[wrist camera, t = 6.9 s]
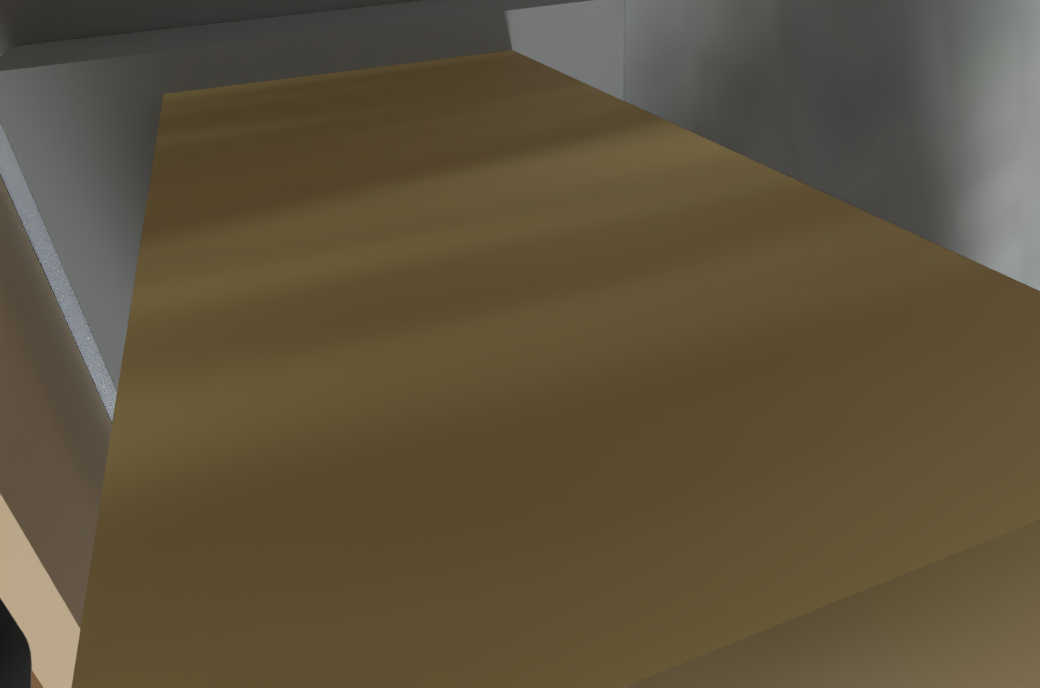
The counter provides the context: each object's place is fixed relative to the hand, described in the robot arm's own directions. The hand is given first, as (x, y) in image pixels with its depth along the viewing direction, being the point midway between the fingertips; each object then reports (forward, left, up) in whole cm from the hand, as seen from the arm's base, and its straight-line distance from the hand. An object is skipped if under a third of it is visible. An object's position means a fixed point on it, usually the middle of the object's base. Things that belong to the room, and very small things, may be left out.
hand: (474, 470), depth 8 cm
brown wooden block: (0, +1, -4) cm, 4 cm away
